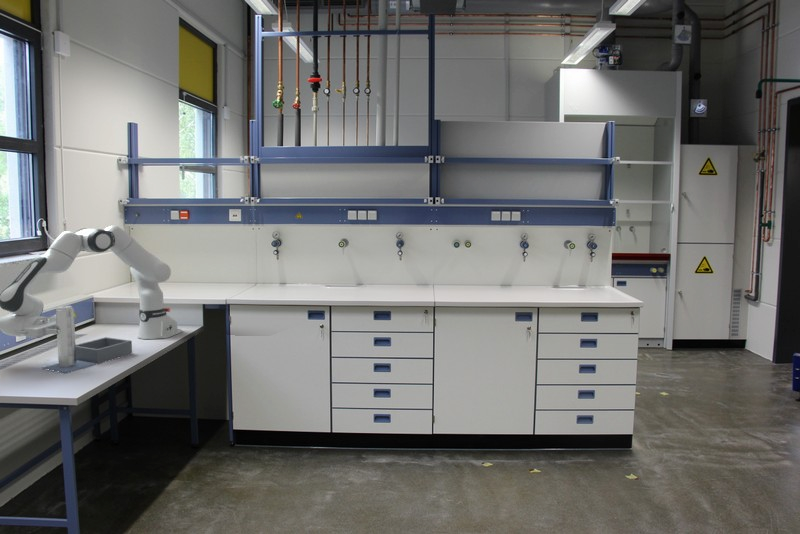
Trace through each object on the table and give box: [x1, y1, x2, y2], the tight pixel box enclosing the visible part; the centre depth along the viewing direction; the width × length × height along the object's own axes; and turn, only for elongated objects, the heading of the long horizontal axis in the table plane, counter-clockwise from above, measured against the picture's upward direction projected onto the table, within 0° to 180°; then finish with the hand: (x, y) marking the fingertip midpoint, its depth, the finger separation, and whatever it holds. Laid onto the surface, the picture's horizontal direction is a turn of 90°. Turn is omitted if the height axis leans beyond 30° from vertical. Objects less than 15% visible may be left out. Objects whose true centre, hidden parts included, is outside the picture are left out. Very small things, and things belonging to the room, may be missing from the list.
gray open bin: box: [75, 336, 133, 365], centre depth 264 cm, size 18×16×6 cm
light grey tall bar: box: [55, 305, 77, 368], centre depth 246 cm, size 6×6×25 cm
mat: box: [42, 360, 97, 374], centre depth 248 cm, size 14×14×1 cm
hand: (65, 328), depth 246 cm, fingers open, 8 cm apart
